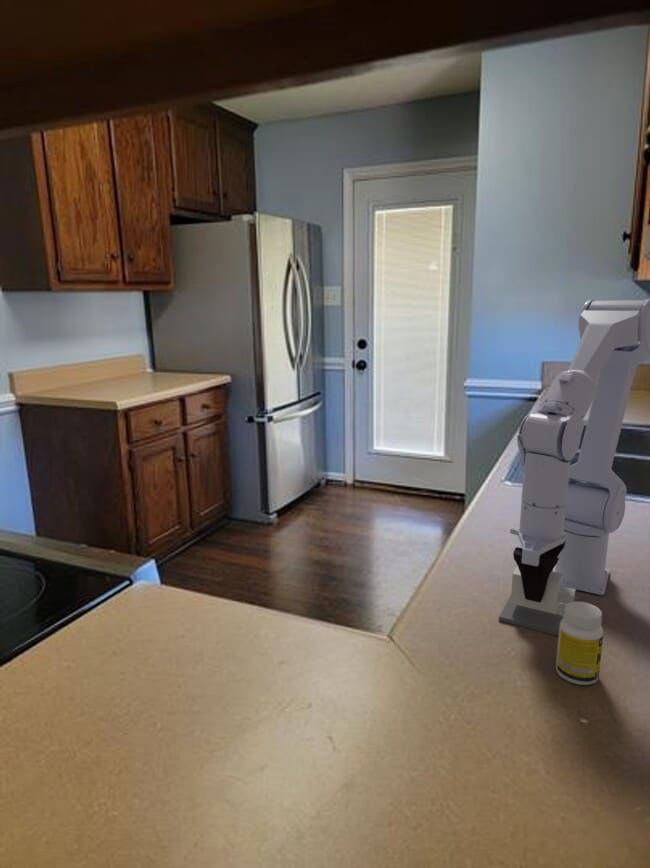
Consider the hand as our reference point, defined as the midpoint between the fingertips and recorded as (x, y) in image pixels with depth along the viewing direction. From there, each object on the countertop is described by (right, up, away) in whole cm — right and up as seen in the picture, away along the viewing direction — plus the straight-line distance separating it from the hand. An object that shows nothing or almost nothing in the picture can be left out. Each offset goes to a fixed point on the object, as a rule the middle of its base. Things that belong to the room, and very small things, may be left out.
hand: (536, 593), depth 82 cm
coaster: (0, -3, +1) cm, 3 cm away
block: (0, -1, 0) cm, 2 cm away
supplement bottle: (0, -6, -12) cm, 14 cm away
